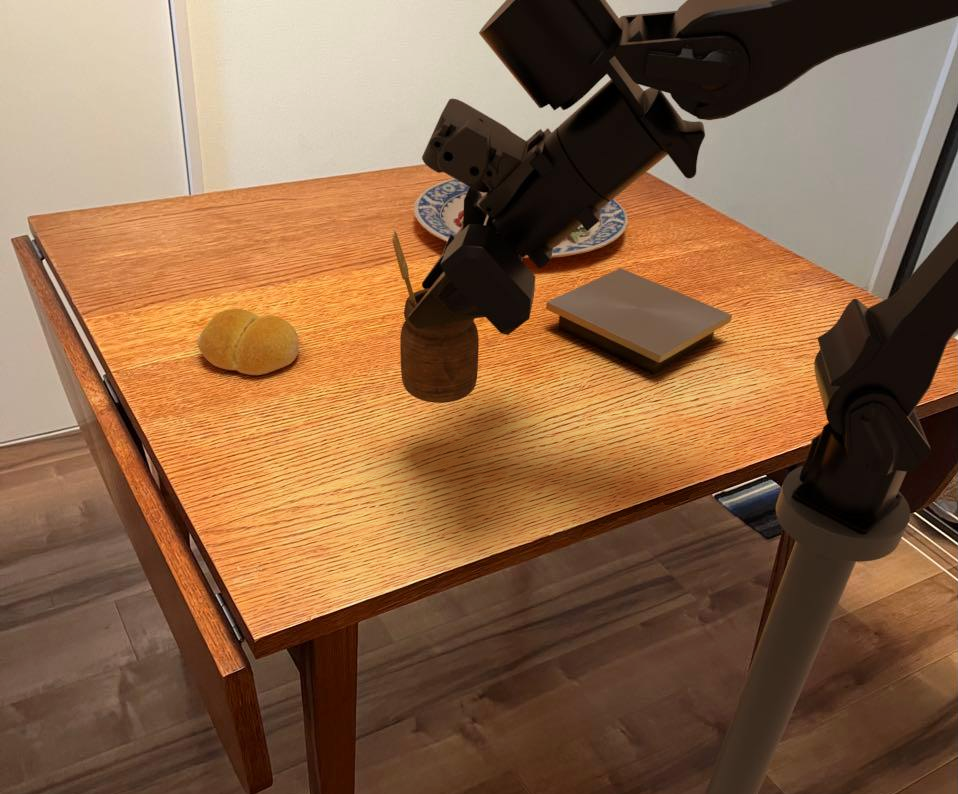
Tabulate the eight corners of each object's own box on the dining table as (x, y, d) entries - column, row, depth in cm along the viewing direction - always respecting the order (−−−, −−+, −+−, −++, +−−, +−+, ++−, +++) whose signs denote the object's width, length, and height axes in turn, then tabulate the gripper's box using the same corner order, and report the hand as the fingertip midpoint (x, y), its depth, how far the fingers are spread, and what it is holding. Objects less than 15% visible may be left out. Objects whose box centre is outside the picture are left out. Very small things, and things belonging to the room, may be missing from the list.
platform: (725, 342, 93) (732, 314, 91) (655, 383, 86) (660, 355, 84) (616, 293, 100) (620, 267, 98) (543, 329, 93) (546, 301, 91)
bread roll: (278, 384, 83) (273, 345, 80) (189, 367, 85) (182, 328, 82) (315, 342, 89) (312, 304, 86) (231, 326, 91) (226, 288, 88)
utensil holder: (476, 407, 69) (482, 255, 61) (393, 404, 69) (388, 251, 61) (478, 367, 74) (484, 220, 66) (400, 364, 74) (396, 217, 66)
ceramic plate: (369, 224, 111) (369, 200, 109) (508, 174, 126) (510, 152, 124) (533, 295, 98) (535, 269, 96) (666, 230, 113) (670, 206, 111)
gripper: (517, 26, 63) (368, 176, 71) (481, 105, 49) (300, 281, 57) (617, 153, 67) (466, 280, 76) (611, 259, 53) (426, 401, 62)
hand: (419, 305), depth 67 cm, fingers closed on utensil holder, 5 cm apart
